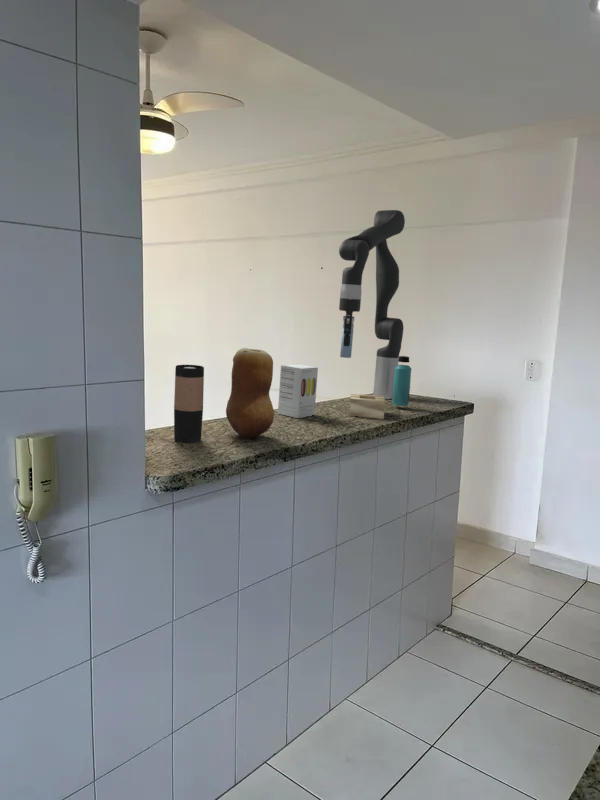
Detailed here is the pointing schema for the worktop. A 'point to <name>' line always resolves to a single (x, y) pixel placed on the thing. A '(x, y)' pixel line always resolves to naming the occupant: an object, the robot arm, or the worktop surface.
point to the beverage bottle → (401, 383)
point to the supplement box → (297, 390)
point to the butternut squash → (251, 393)
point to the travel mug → (188, 403)
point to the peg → (346, 350)
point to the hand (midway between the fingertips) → (346, 345)
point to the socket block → (367, 406)
